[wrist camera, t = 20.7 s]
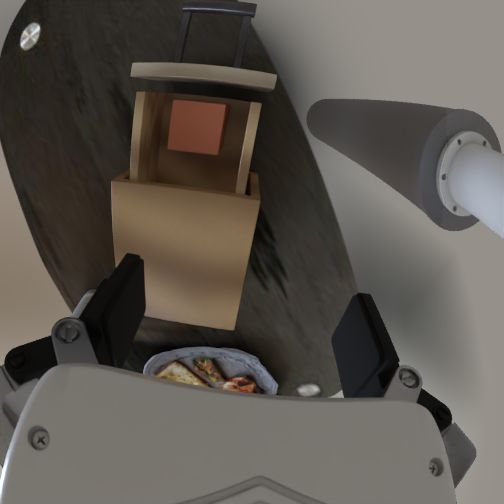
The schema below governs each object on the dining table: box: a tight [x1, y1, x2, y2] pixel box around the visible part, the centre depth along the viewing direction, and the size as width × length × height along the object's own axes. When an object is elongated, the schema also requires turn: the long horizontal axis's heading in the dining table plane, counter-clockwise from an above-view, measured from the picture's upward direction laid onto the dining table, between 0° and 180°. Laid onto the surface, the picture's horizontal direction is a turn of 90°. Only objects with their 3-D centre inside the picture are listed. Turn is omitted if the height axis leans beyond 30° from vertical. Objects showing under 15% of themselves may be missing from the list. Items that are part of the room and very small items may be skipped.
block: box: [167, 100, 230, 155], centre depth 23 cm, size 4×4×4 cm
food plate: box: [143, 347, 279, 395], centre depth 47 cm, size 25×23×4 cm
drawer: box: [130, 0, 277, 195], centre depth 22 cm, size 20×11×7 cm, turn 170°
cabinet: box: [111, 169, 261, 330], centre depth 29 cm, size 15×13×9 cm
